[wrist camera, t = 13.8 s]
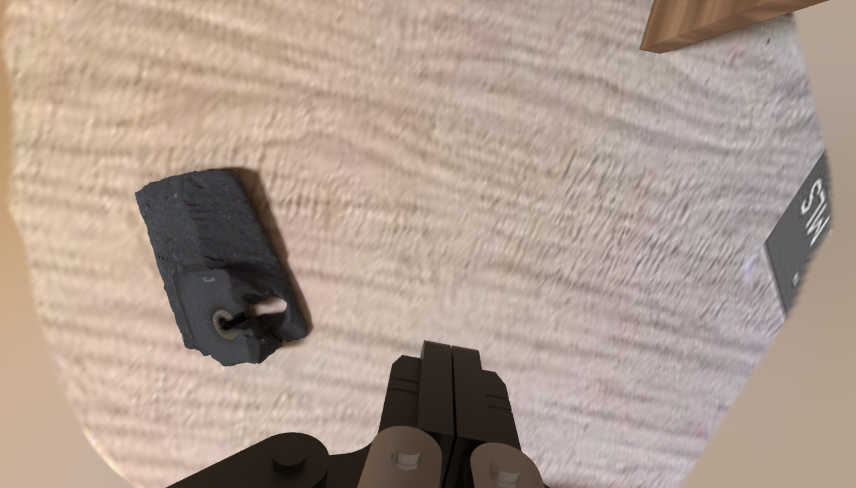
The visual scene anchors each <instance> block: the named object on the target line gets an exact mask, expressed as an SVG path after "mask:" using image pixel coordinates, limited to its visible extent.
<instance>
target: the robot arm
mask: <svg viewBox="0 0 856 488" xmlns="http://www.w3.org/2000/svg"><path fill="white" fill-rule="evenodd" d="M511 410H512V409H511V405H510V401H509V397H508V393H507V388H506V385H505V384H504V382H503V381H502V380H501V379H500V377H499V376H498V375H497V374H496V372H492V371H486V370H482V367H481V361H480V354H479V351H478V350H474V349H469V348H463V347H458V346H453V345H452V347H451V346H450V345H447V344H441V343H436V342H431V341H425V340H424V343H423V347H422V352H421V357H420V358H416V357H410V356H405V355H402V356H401V357H400V358H398V359H397V360H396V361H395V362H394V363H393V364H392V368H391V373H390V378H389V383H388V387H387V392H386V397H385V402H384V407H383V412H382V416H381V421H380V426H379V431H378V434H377V435H376V437H375V438H374V440H373V441H372V442H371V443H370V444H369V445H368V446H366V447H364V448H363V449H360V450H358V451H355V452H352V453H346V454H337V455H329V454H328V451H327V449H326V447H325V446H324V445H323V444H322V443H321V442H320V441H319V440H318V439H316V438H314V437H312V436H310V435H307V434H303V433H296V432H290V433H281V434H277V435H274V436H271V437H269V438H267V439H265V440H263V441H261V442H259V443H257V444H255V445H252V446H250V447H248V448H246V449H244V450H242V451H240V452H238V453H236V454H234V455H232V456H230V457H228V458H226V459H224V460H222V461H220V462H218V463H216V464H213V465H211V466H209V467H207V468H205V469H203V470H201V471H199V472H197V473H195V474H193V475H191V476H189V477H187V478H185V479H183V480H181V481H179V482H176V483H174V484H172V485H170V486H168V487H166V488H550V487H548V486H546V485H545V484H544V483H543V481H542V478H541V475H540V473H539V470H538V468H537V467H536V465H535V464H534V462H533V461H532V460H531V459H530V458H529V457H528V456H527V455H525V454H524V453H523V452H522V451H521V447H520V443H519V438H518V434H517V430H516V426H515V422H514V418H513V413H512V412H511Z"/></svg>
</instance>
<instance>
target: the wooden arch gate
mask: <svg viewBox="0 0 856 488" xmlns="http://www.w3.org/2000/svg"><path fill="white" fill-rule="evenodd" d="M825 1H828V0H654V2H653V6H652V9H651V12H650V16H649V19H648V22H647V26H646V29H645V32H644V36H643V39H642V43H641V46H640V49H639V50H644V51H649V52H654V53H659V54H660V53H663V52H666V51H670V50H673V49H676V48H679V47H682V46H686V45H689V44H692V43H695V42H698V41H701V40H705V39H708V38H711V37H714V36H717V35H720V34H724V33H727V32H730V31H733V30H736V29H739V28H743V27H746V26H749V25H752V24H755V23H758V22H762V21H765V20H768V19H771V18H774V17H777V16H781V15H784V14H787V13H790V12H793V11H796V10H800V9H803V8H806V7H809V6H812V5H815V4H818V3H821V2H825Z"/></svg>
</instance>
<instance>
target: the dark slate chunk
mask: <svg viewBox="0 0 856 488" xmlns="http://www.w3.org/2000/svg"><path fill="white" fill-rule="evenodd" d="M135 196H136V200H137V204H138V205H139V209H140V213H141V215H142V217H143V219H144V221H145V224H146V226H147V228H148V235H149V237H150V242H151V245H152V247H153V249H154V254H155V258H156V262H157V266H158V269H159V272H160V275H161V277H162V279H163V281H164V290H165V291H166V292H167V296H168V299H169V303H170V306H171V308H172V311H173V312H174V314H175V319H176V323H177V325H178V327H179V329H180V332H181V333H182V339H183V341H184V345H185V347H186V348H189V349H196V350H199V351H200V352H201V353H202V354H203V356H208V355H211V356H212V358H213V359H215V360H217V361H218V362H220V363H221V364H222V365H223V366H234V365H236V364H241V363H246V362H248V363H253V364H255V363H258V364H260V363H261V362H263V361H264V360H265V359H266V358H267V357H268V356H269V355H271V354H272V353H274V352H275V350H276V349H278V348H280V347H281V346H282V345H283V343H282V341H283V340H285V341H286V342H291V341H292V340H299V339H300V338H305V335H306V331H307V328H306V326H305V323H304V321H303V317H302V314H301V313H300V311H299V309H298V305H297V303H296V301H295V298H294V295H293V293H292V290H291V287H290V284H289V282H288V281H287V280H286V274H285V273H284V271H283V270H282V268H281V264H280V263H279V262H278V259H277V256H276V255H275V253H274V251H273V249H272V245H271V243H270V241H269V238H268V237H267V235H266V234H265V232H264V231H263V227H262V224H261V222H260V221H259V219H258V217H257V215H256V213H255V211H254V209H253V207H252V206H251V204H250V202H249V200H248V195H247V193H246V190H245V187H244V186H243V184H242V183H241V181H240V180H239V178H238V177H237V175H236V174H235V173H233V172H231V171H226V170H212V171H202V172H197V171H193V172H189V173H187V174H183V175H179V176H170V177H168V178H164V179H162V180H160V181H159V182H158V183H156V182H150V183H149V184H148V185H145V186H144V187H143V188H142V189H141V190H140V191H138V192H136V193H135ZM272 296H277V297H279V298H281V299H283V300H284V301H286V303H287V307H286V310H285V311H284V312H282V313H277V314H274V315H267V314H264V315H261V316H260V317H259V318H258V317H245V316H243V315H244V311H246V310H248V309H249V307H248V305H247V304H248V303H252V304H256V303H258V302H260V301H263V300H266V299H268V298H269V297H272ZM281 338H282V339H281ZM279 339H281V340H279Z"/></svg>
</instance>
